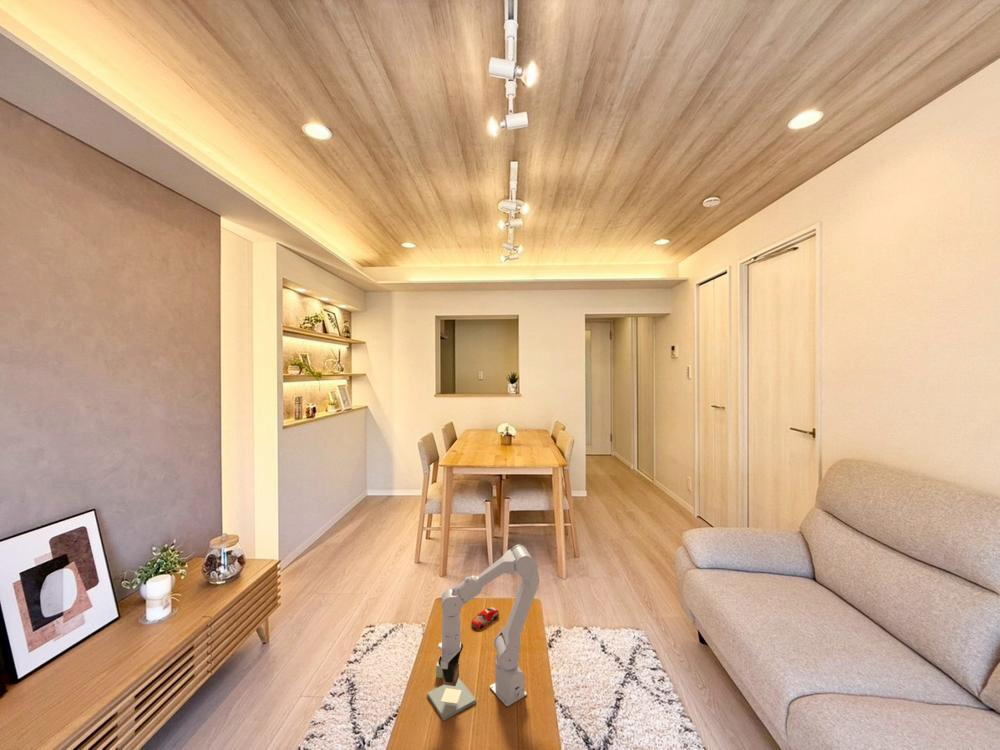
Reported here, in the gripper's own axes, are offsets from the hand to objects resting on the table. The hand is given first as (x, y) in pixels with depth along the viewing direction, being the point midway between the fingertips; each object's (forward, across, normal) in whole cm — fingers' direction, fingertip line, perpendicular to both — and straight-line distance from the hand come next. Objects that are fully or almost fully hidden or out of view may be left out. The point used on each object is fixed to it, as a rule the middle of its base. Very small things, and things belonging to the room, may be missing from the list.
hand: (451, 675), depth 121 cm
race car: (+8, -40, +2) cm, 41 cm away
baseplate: (+7, 0, 0) cm, 7 cm away
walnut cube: (+1, 0, 0) cm, 1 cm away
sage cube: (+7, -10, -6) cm, 14 cm away
